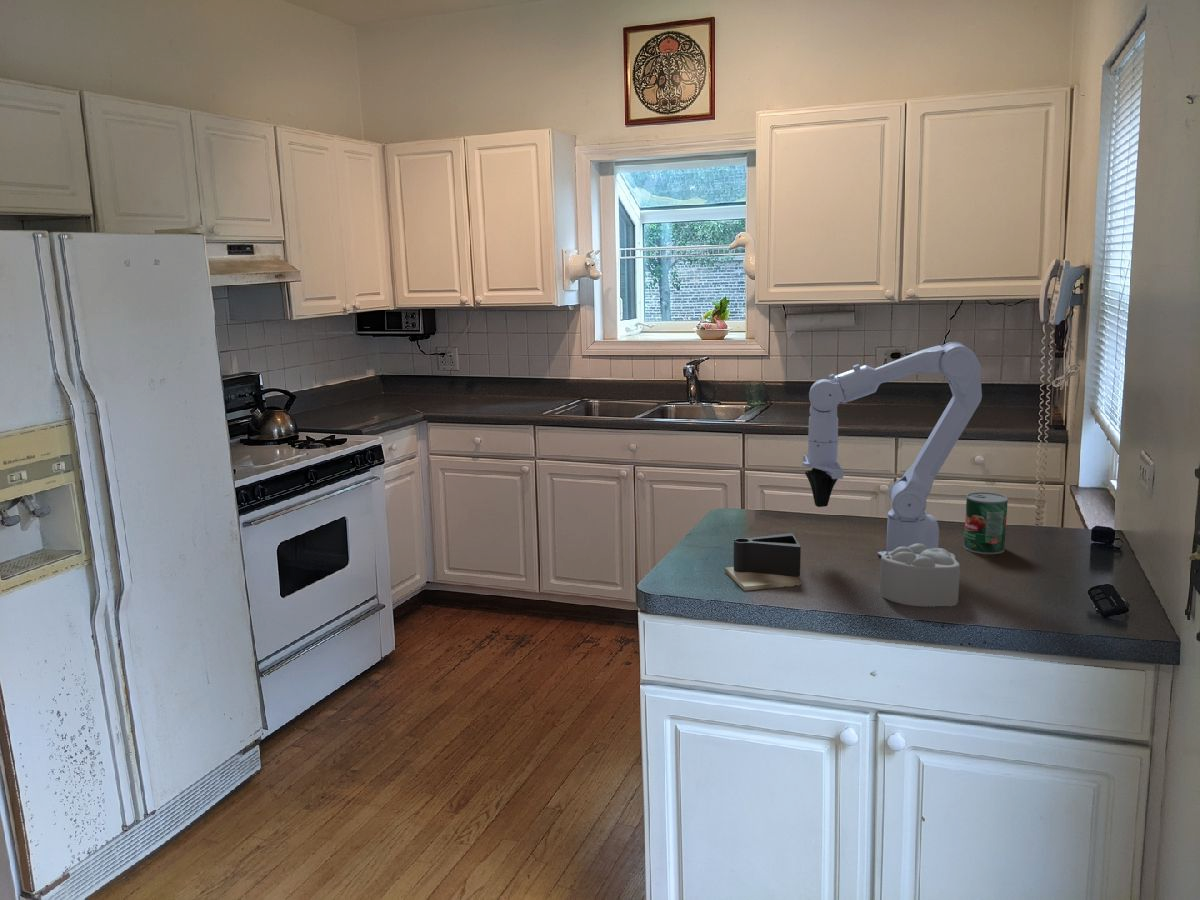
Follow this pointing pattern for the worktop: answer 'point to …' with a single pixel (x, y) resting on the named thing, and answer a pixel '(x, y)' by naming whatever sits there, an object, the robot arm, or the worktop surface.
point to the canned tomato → (985, 523)
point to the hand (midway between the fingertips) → (821, 505)
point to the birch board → (760, 580)
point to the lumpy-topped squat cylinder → (920, 576)
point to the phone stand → (768, 555)
